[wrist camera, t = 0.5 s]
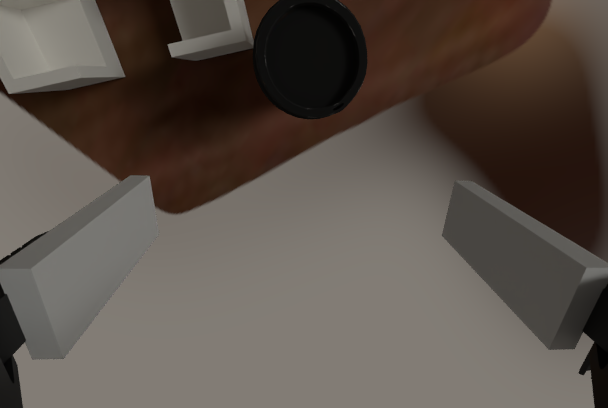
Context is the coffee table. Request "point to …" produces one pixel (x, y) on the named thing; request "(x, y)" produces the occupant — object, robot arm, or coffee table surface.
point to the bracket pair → (101, 40)
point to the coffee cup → (309, 57)
